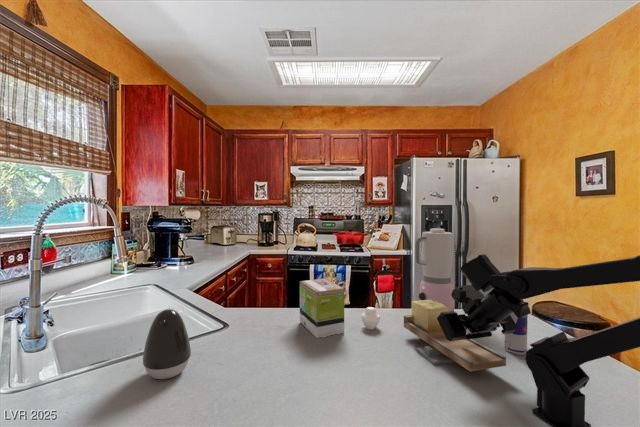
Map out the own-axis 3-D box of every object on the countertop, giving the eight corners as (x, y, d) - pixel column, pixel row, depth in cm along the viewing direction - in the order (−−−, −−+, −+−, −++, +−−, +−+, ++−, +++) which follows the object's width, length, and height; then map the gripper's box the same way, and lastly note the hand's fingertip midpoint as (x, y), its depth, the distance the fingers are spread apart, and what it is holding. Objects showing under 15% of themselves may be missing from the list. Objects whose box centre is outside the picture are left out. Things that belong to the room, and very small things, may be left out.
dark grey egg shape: (136, 389, 67) (136, 319, 67) (149, 365, 77) (149, 304, 77) (187, 382, 70) (187, 315, 70) (193, 360, 80) (193, 301, 80)
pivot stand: (479, 358, 82) (480, 348, 82) (434, 365, 79) (434, 355, 79) (458, 345, 90) (458, 336, 90) (416, 351, 86) (416, 342, 86)
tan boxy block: (448, 331, 89) (448, 307, 89) (427, 333, 87) (427, 309, 87) (431, 321, 97) (431, 299, 97) (411, 324, 95) (411, 301, 95)
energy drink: (530, 356, 84) (531, 311, 84) (508, 354, 85) (509, 310, 85) (521, 347, 89) (522, 305, 89) (501, 345, 90) (502, 304, 90)
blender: (439, 306, 126) (440, 227, 126) (461, 316, 114) (462, 229, 114) (405, 310, 121) (406, 228, 121) (425, 321, 110) (426, 230, 109)
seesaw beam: (505, 365, 72) (506, 350, 72) (470, 371, 69) (470, 355, 69) (431, 323, 99) (431, 313, 99) (403, 326, 96) (403, 315, 96)
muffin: (379, 324, 106) (379, 304, 106) (380, 331, 100) (380, 310, 100) (361, 323, 107) (361, 303, 107) (361, 330, 101) (361, 309, 101)
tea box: (298, 322, 107) (298, 280, 107) (324, 318, 112) (324, 277, 111) (316, 339, 94) (316, 290, 94) (345, 334, 98) (345, 287, 98)
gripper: (506, 274, 77) (473, 306, 88) (442, 279, 72) (415, 311, 83) (536, 316, 70) (495, 345, 80) (466, 324, 65) (433, 354, 75)
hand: (459, 337), depth 80 cm, fingers closed
